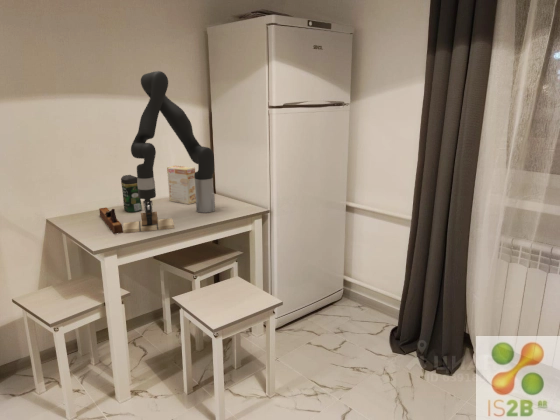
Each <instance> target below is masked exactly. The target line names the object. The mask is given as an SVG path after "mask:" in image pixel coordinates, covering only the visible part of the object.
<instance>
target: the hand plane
mask: <svg viewBox="0 0 560 420" xmlns="http://www.w3.org/2000/svg"><path fill="white" fill-rule="evenodd" d="M99 217H100V218H101V219H102V220H103V222H104V223H105V225H106V226H107V227H108V228H109V229H110V231H111V232H112V233H113V234H114V235H117V233H118V234H122V233H123V224H122V223H121V221H119V220H118V219H117V215H116V211H115V208H112V209H111V210H110V209H109V208H108V207H100V208H99ZM123 234H124V233H123Z"/></svg>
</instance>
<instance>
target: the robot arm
mask: <svg viewBox="0 0 560 420" xmlns="http://www.w3.org/2000/svg"><path fill="white" fill-rule="evenodd" d="M168 79H169V78H168V77H167V75H166V74H165V72H163V71H160V70H157V71H155V70H154V71H153V72H152V71H151V72H148V73H144V74H143V75H142V76H141V78H140V85H141V87H142V90H143V91H144V92H145V94H146V95H147V97H149V99H148V103H147V104H146V106H145V108H144V110H143V112H142V114H141V117H140V120H139V125H138V130H137V134H136V135H135V137H134V139H133V141H132V144H131V146H130V152H131V155H132V158H135V159H143V163H140V164H137V166H136V177H137V185H138V196H139V198H140V199H141V200H143V201H142V202H143V203H142V204H143V205H142V206H143V209H144V213H146V218H147V225H152V212H154V211H153V200H151V199H155V198H156V197H157V196H156V195H157V193H156V182H155V178H154V177H155V176H154V166H155V165H154V164H155V159H156V154H157V151H156V150H157V149H156V147H155V145H154V144H153V143H151V142H147V141H148V140H152V139H153V138H154V137H155V133H156V130H157V129H156V128H157V123H158V117H159V114H160V113H161V114H162V116H163V117H164V118H165V120H166V121H167V123H168V125H169V126H170V128H171V130H172V131H173V132H174V133H175V135H176V137H178V139H179V141H180V142H181V144H182V145H183V147H184V148H185V150H186V152H187V154H188V157H189V158H190V160H191V161H192V162H193V163H194V164H196V165H197V169H198V170H197V171H195V174H194V177H195V194H196V202H195V208H196V212H197V213H201V214H202V213H203V214H204V213H206V214H207V213H211V212H216V201H215V199H216V198H215V191H214V178H213V177H214V173H215V154H214V152H213V150H212V148H210V147H208V146H202V145H201V144H200V143H199V142H198V140H197V138H196V136H195V135H194V132H193V131H194V130H193V125H192V123H191V121H190V119H189V117H188V116H187V114H186V113H185V111H184V110H183V109H182V108H181V107H180V106H179V105H177V104H176V103H175V102H174V101H172V100H171V99H170V98H168V96H167V95H166V94H167V90H168V87H169V80H168ZM147 213H151V214H148V215H147Z"/></svg>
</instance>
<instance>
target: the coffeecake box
mask: <svg viewBox="0 0 560 420" xmlns="http://www.w3.org/2000/svg"><path fill="white" fill-rule="evenodd" d="M166 170H167V171H166V172H167V173H166V174H167V183H168V194H169V195H168V197H169V198H168V199H169V202H174V203H179V204H185V205H190V204H194V203H195V204H196V194H195V177H194V174H195V172H196V168H195V167H190V166H184V165H183V166H181V165H171V166H166Z"/></svg>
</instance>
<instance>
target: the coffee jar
mask: <svg viewBox="0 0 560 420" xmlns="http://www.w3.org/2000/svg"><path fill="white" fill-rule="evenodd" d="M120 182H121V183H120V184H121V190H122V199H123V203H122V204H123V209H124V210H125V211H126V212H128V213H137V212H140V211H142V209H143V207H142V206H143V205H142V201H141V200H142V199H140V198H139V196H138V185H137V176H134V175H131V174H127V175H126V174H125V175H123V176H122V177H121V178H120Z"/></svg>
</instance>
